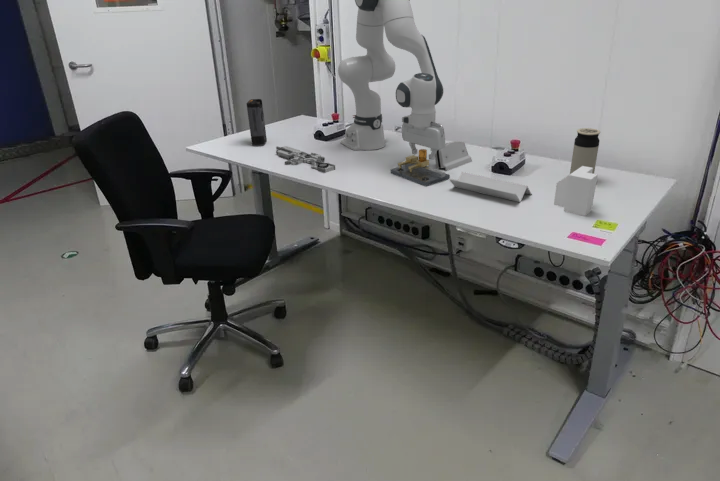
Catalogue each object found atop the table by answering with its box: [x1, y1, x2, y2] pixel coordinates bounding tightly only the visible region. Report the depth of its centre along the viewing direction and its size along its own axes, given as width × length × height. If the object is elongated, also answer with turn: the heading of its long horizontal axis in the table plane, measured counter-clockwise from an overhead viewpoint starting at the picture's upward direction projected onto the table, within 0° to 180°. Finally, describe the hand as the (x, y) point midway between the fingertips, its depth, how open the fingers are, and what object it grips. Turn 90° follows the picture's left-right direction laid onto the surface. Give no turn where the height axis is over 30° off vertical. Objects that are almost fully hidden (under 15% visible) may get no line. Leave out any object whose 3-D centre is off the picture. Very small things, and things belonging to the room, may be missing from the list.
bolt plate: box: [389, 154, 451, 187], centre depth 198 cm, size 20×12×5 cm, turn 37°
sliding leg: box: [408, 148, 430, 173], centre depth 197 cm, size 3×8×8 cm, turn 127°
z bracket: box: [448, 171, 532, 203], centre depth 181 cm, size 12×25×6 cm
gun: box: [275, 145, 336, 174], centre depth 222 cm, size 41×3×15 cm
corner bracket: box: [553, 166, 599, 217], centre depth 165 cm, size 11×11×12 cm
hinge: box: [434, 140, 473, 172], centre depth 208 cm, size 17×5×10 cm, turn 132°
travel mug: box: [569, 127, 601, 175], centre depth 184 cm, size 8×8×18 cm
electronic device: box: [246, 98, 268, 147], centre depth 243 cm, size 9×6×20 cm, turn 179°
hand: (422, 156), depth 198 cm, fingers open, 8 cm apart
